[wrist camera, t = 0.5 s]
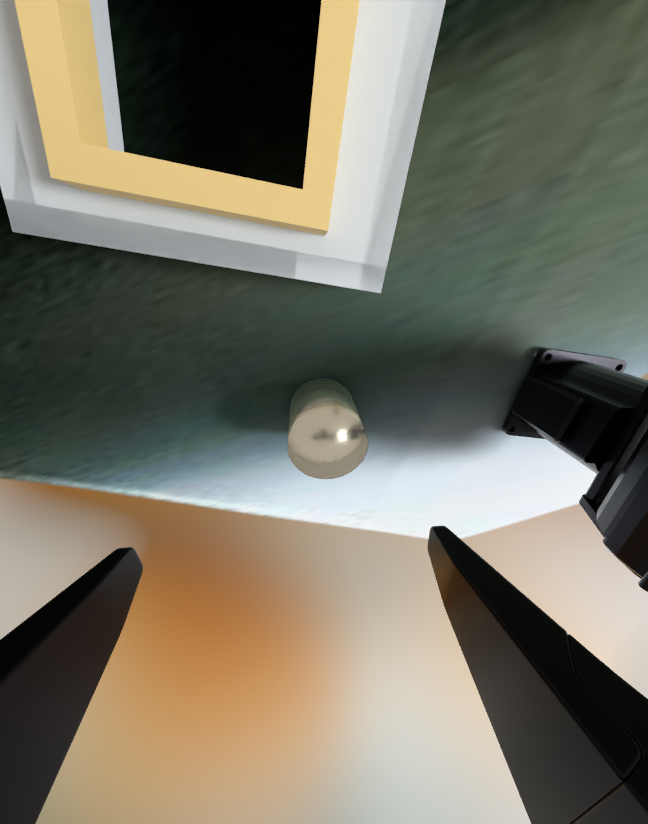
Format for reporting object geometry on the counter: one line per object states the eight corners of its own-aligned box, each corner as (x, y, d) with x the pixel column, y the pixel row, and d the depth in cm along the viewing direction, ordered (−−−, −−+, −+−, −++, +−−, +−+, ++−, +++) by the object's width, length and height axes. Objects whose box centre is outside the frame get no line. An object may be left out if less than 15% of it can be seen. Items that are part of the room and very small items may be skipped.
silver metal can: (358, 382, 19) (376, 415, 15) (346, 437, 21) (359, 481, 17) (294, 374, 19) (292, 406, 14) (287, 431, 21) (284, 476, 16)
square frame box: (419, -31, 12) (538, -332, 6) (359, 287, 17) (390, 295, 11) (34, -157, 10) (-354, -783, 4) (99, 243, 15) (-30, 225, 9)
